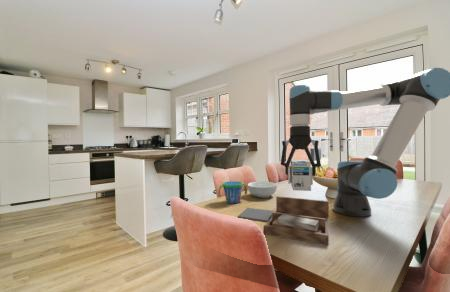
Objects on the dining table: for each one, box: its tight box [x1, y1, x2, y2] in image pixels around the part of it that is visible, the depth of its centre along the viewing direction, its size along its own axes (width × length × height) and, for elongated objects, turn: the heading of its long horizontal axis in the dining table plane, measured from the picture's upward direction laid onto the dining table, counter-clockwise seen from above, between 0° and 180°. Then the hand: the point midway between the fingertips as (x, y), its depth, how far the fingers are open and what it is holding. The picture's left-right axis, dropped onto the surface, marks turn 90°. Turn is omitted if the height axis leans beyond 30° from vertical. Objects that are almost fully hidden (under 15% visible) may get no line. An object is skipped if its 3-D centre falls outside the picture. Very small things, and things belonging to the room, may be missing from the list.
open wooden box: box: [263, 195, 330, 246], centre depth 87 cm, size 21×23×8 cm
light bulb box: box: [290, 159, 312, 192], centre depth 91 cm, size 11×7×11 cm, turn 168°
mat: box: [237, 207, 276, 223], centre depth 101 cm, size 13×13×1 cm
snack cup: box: [217, 180, 248, 204], centre depth 122 cm, size 16×10×10 cm
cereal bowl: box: [247, 181, 278, 199], centre depth 134 cm, size 17×17×7 cm
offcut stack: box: [272, 214, 321, 233], centre depth 81 cm, size 16×6×5 cm, turn 60°
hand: (300, 183), depth 91 cm, fingers closed on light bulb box, 7 cm apart
